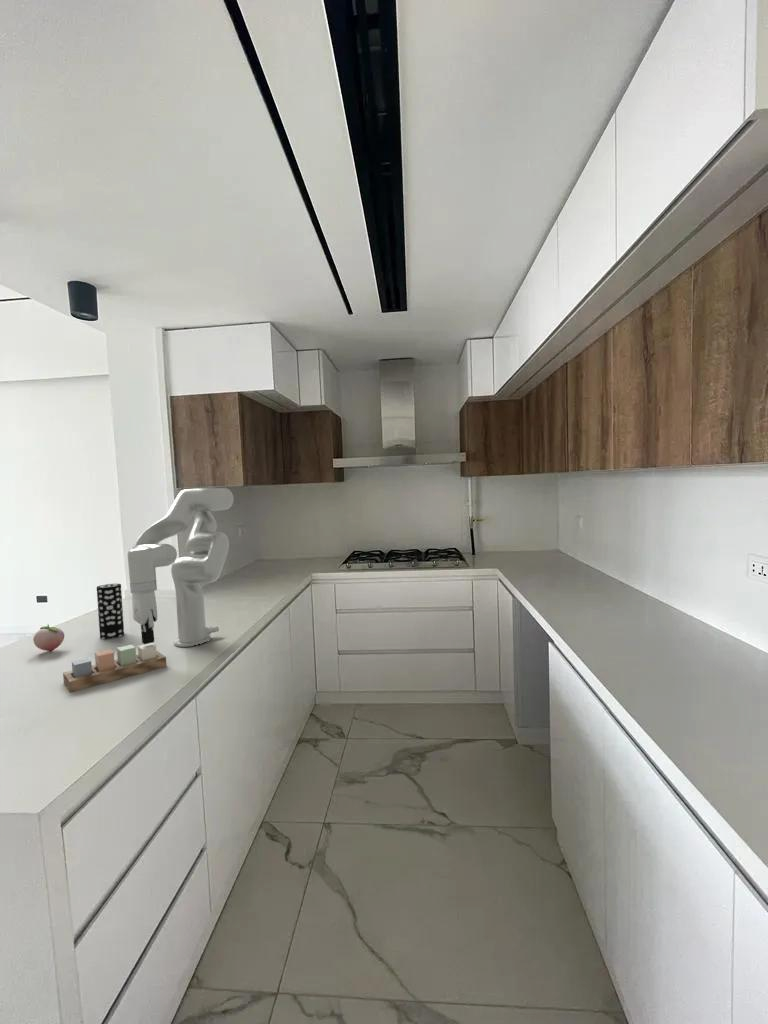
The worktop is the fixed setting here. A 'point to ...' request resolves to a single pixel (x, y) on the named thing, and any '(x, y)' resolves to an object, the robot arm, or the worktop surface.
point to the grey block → (81, 667)
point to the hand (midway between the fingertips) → (148, 642)
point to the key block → (113, 672)
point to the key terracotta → (104, 660)
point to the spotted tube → (110, 611)
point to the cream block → (147, 651)
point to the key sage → (126, 655)
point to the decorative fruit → (48, 638)
